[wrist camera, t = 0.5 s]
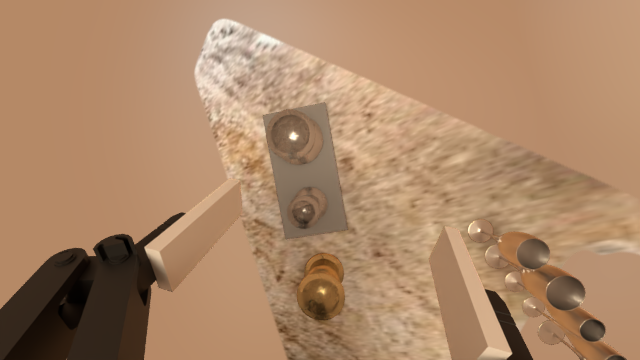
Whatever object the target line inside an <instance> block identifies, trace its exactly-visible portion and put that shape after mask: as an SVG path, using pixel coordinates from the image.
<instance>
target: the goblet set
mask: <svg viewBox="0 0 640 360" xmlns="http://www.w3.org/2000/svg"><path fill="white" fill-rule="evenodd" d="M468 234H469V237H470V238H471V239H472V240H473V241H475V242H479V243H482V242H486V241H488V240H489V239H490V238H491V237H492V238H493V239H495V240H496V241H497V242H498V244H494V245H491V246H490V247H489V248H488V249H487V250H486V252H485V260H486V262H487V264H488V265H489V266H491V267H493V268H497V269H499V268H504V267H506V266H507V265H508V264H510V265H512V266H514V267H515V268H517V269H518V270H519V271H520V272H519V271H513V272H510V273H509V274H508V275H507V276H506V278H505V285H506V287H507V288H508V289H509V290H510V291H513V292H519V291H522V290H523V289H524V288H525V289H527V290H528V291H529V292H530V293H531V294H532V295H533V296H535V297H529V298H527V299H526V300H525V301H524V302H523V306H522V308H523V311H524V313H525V314H526V315H528V316H530V317H538V316H540V315H541V314H543V315H544V316H546V317H547V318H548V319H549V320H547V321H545V322H543V323H542V324H541V325H540V326H539V328H538V336H539V338H540V339H541V340H542V341H543V342H544V343H546V344H551V345H554V344H558V343H559V342H561V341H562V342H563V343H564V344H565V345H567V346H568V347H569V348H571V350H572V351H574V352H575V353H576V355H577V356H578V357H579V359H580V360H627V359H626V358H624V357H623V356H622V355H621V354H620V353H619V352H618V351H616V350H615V349H614V348H613V347H611V346H610V345H608V344H607V343H605V342H604V341H602V340H601V339H602V338H603V337H604V336H605V333H606V328H605V325H604V324H603V323H602V322H601V321H600V320H599V319H597V318H596V317H595V316H593V315H592V314H591V313H589V312H588V311H586V310H584V309H583V308H581V307H579V306H580V305H581V304H582V302H583V301H584V298H585V288H584V286H583V284H582V283H581V282H580V281H579V280H578V279H577V278H575V277H574V276H572V275H571V274H569V273H567V272H566V271H563V270H562V269H560V268H557V267H554V266H551V265H547V264H546V263H547V262H548V260H549V258H550V250H549V247H548V246H547V244H546V243H545V242H543V241H542V240H540V239H538V238H537V237H535V236H532V235H530V234H527V233H523V232H508V233H505V234H503V235H501V236H495V235H492V234H493V227H492V225H491V224H490V223H489V222H488V221H486V220H484V219H478V220H475V221H473V222H472V223H471V224H470V225H469V228H468ZM510 261H511V262H510ZM545 307H546V308H547V310H548V311H549V313H550V315H551V316H552V317H553V318H554V319H555V320H556V321H555V320H554V319H552V318H551V317H549V316H547V315H546V314H545V313H543V312H544V310H545ZM565 334H566V336H567V337H568V339H569V340H570V342H571V343H572V345H573V346H574V347H575V348H573V347H572V346H570V345H569V344H568V343H566V342H565V341H564V340H563V338H564V336H565Z"/></svg>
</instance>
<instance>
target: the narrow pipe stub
mask: <svg viewBox="0 0 640 360" xmlns="http://www.w3.org/2000/svg"><path fill="white" fill-rule="evenodd" d="M327 206H328V202H327V198H326V196H325V194H324V193H323V192H322V191H321V190H320V189H318V188H315V187H306V188H303V189H301V190H300V191H299V192H298V193H297V194H296V195H295V197H294V199H293V200H292V201H291V202H290V204H289V205H288V208H287V216H288V219H289V221H290V222H291V224H292V225H294V226H295V227H297V228H300V229H308V228H311V227H312V226H314V225H315V224H316V223H317V221H318V219H320V218H321V217H322V216H323V215H324V214H325V212H326V210H327Z"/></svg>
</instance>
